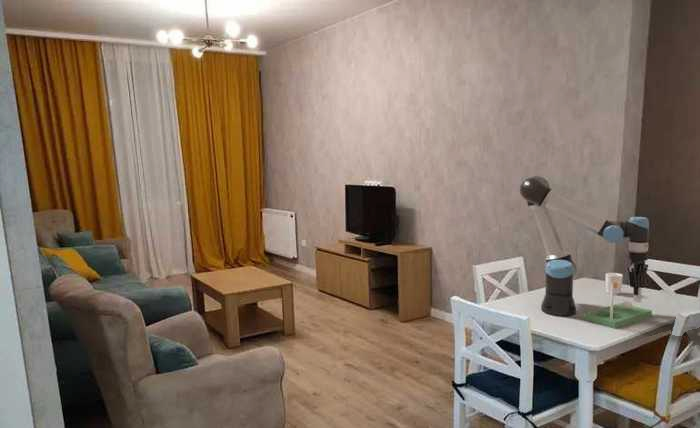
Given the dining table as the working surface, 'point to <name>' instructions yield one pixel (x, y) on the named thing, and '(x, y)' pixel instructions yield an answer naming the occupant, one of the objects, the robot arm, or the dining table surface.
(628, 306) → the ball
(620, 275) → the white cup
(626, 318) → the mat
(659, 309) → the dining table surface
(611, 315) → the flag pin
